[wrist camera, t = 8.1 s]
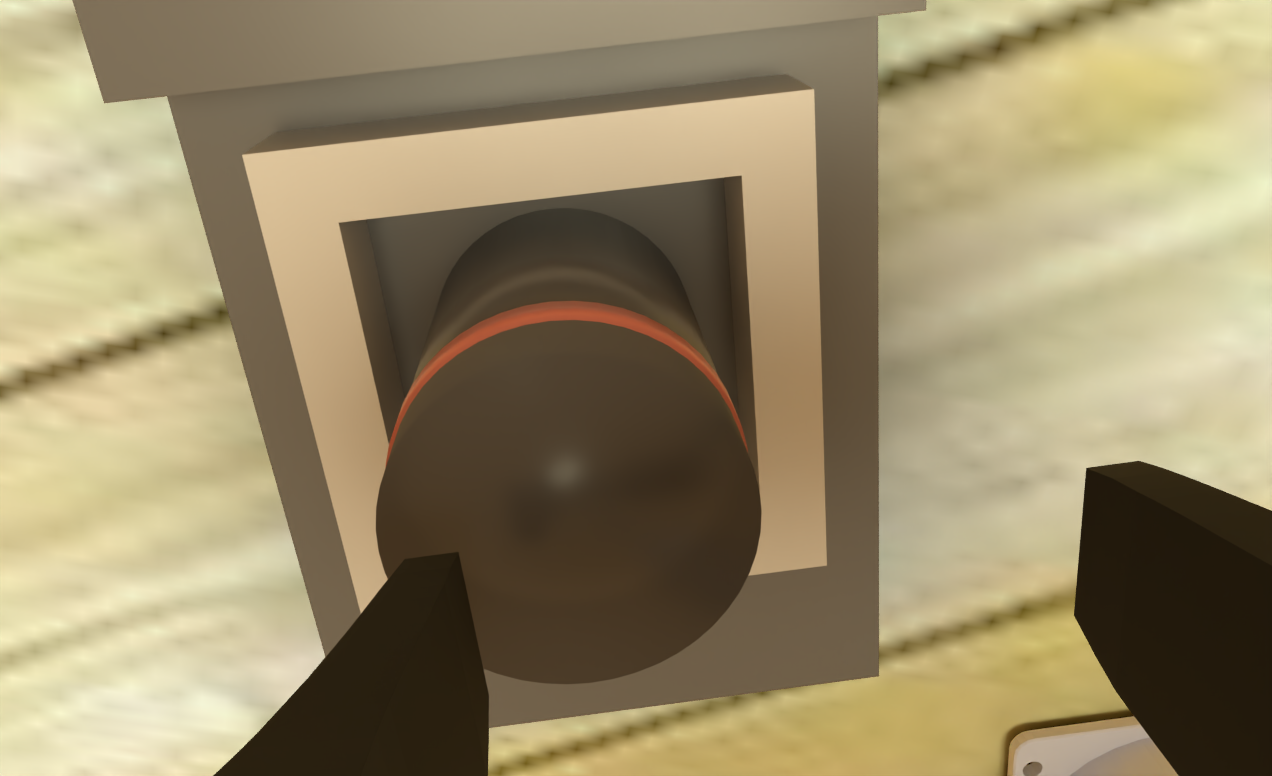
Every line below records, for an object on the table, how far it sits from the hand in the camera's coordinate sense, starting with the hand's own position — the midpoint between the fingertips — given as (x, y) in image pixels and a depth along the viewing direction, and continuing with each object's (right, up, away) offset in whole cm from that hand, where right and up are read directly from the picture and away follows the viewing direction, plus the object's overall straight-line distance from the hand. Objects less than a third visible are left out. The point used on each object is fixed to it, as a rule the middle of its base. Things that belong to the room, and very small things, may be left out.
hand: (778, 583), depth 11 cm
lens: (-3, +3, +7) cm, 9 cm away
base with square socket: (-3, +4, +9) cm, 11 cm away
